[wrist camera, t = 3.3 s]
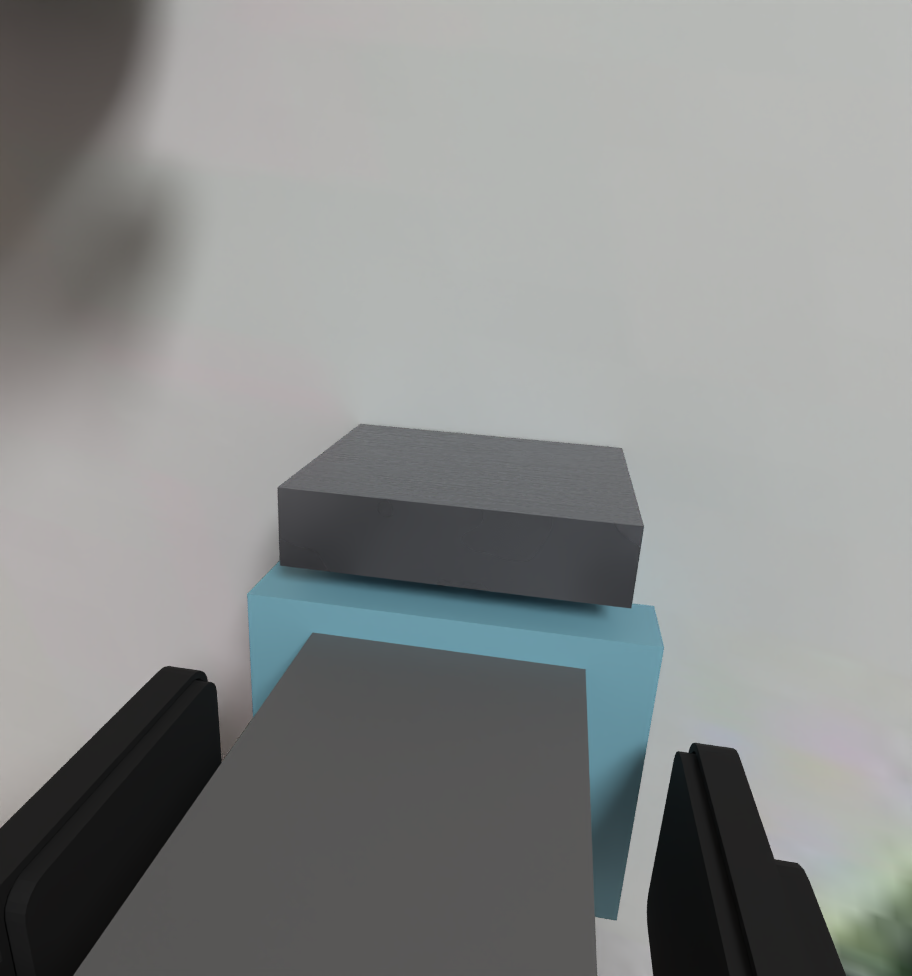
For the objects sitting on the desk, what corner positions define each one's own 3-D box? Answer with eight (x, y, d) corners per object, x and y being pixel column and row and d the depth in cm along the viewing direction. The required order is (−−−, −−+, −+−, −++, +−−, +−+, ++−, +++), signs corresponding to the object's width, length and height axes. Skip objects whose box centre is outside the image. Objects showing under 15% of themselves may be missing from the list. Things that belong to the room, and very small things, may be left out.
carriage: (637, 537, 13) (805, 1230, 4) (604, 752, 15) (665, 1619, 5) (334, 504, 14) (-157, 1007, 4) (335, 712, 15) (-28, 1402, 6)
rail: (622, 448, 13) (643, 526, 9) (539, 1048, 18) (531, 1257, 14) (360, 424, 13) (277, 488, 10) (354, 1009, 18) (298, 1199, 15)
